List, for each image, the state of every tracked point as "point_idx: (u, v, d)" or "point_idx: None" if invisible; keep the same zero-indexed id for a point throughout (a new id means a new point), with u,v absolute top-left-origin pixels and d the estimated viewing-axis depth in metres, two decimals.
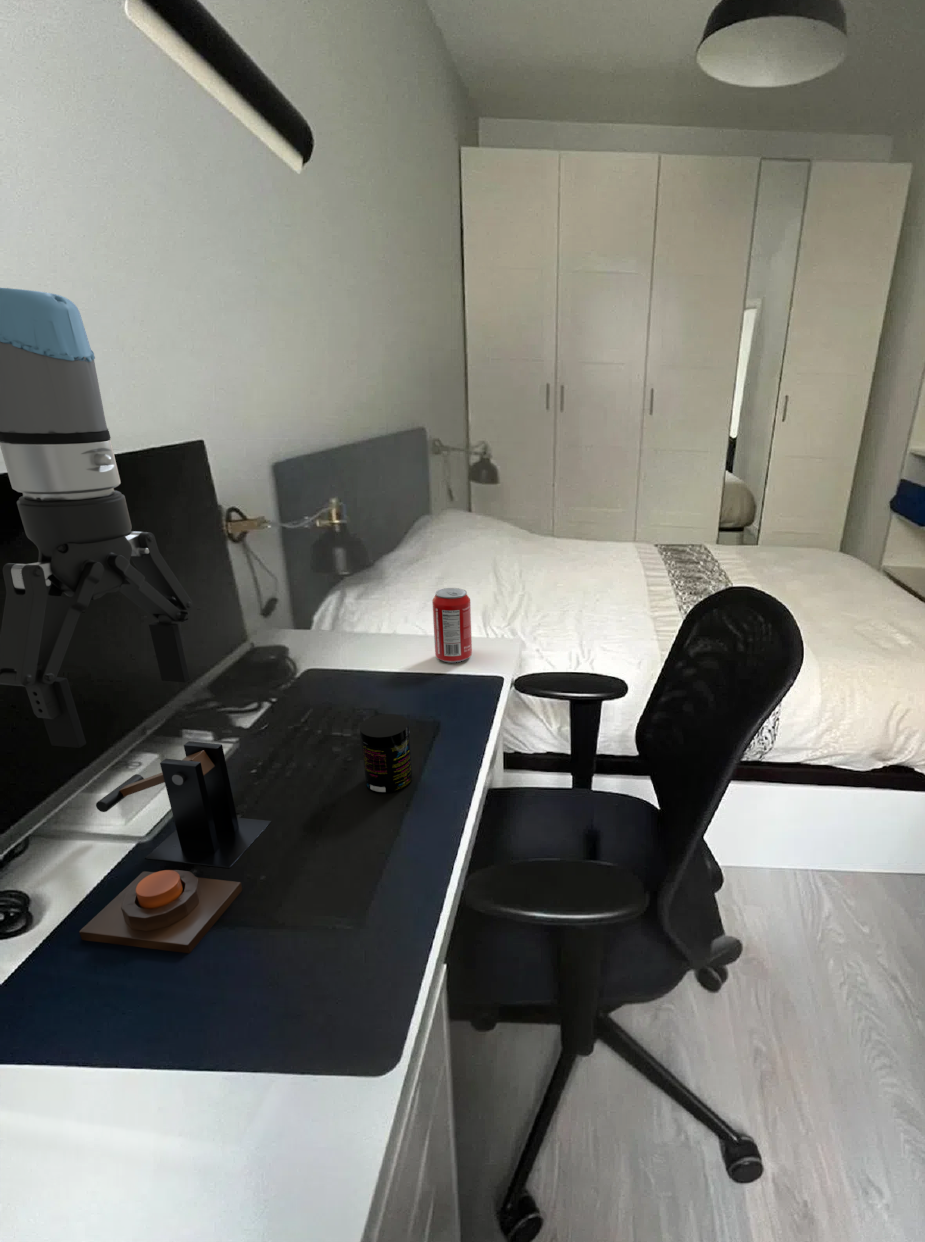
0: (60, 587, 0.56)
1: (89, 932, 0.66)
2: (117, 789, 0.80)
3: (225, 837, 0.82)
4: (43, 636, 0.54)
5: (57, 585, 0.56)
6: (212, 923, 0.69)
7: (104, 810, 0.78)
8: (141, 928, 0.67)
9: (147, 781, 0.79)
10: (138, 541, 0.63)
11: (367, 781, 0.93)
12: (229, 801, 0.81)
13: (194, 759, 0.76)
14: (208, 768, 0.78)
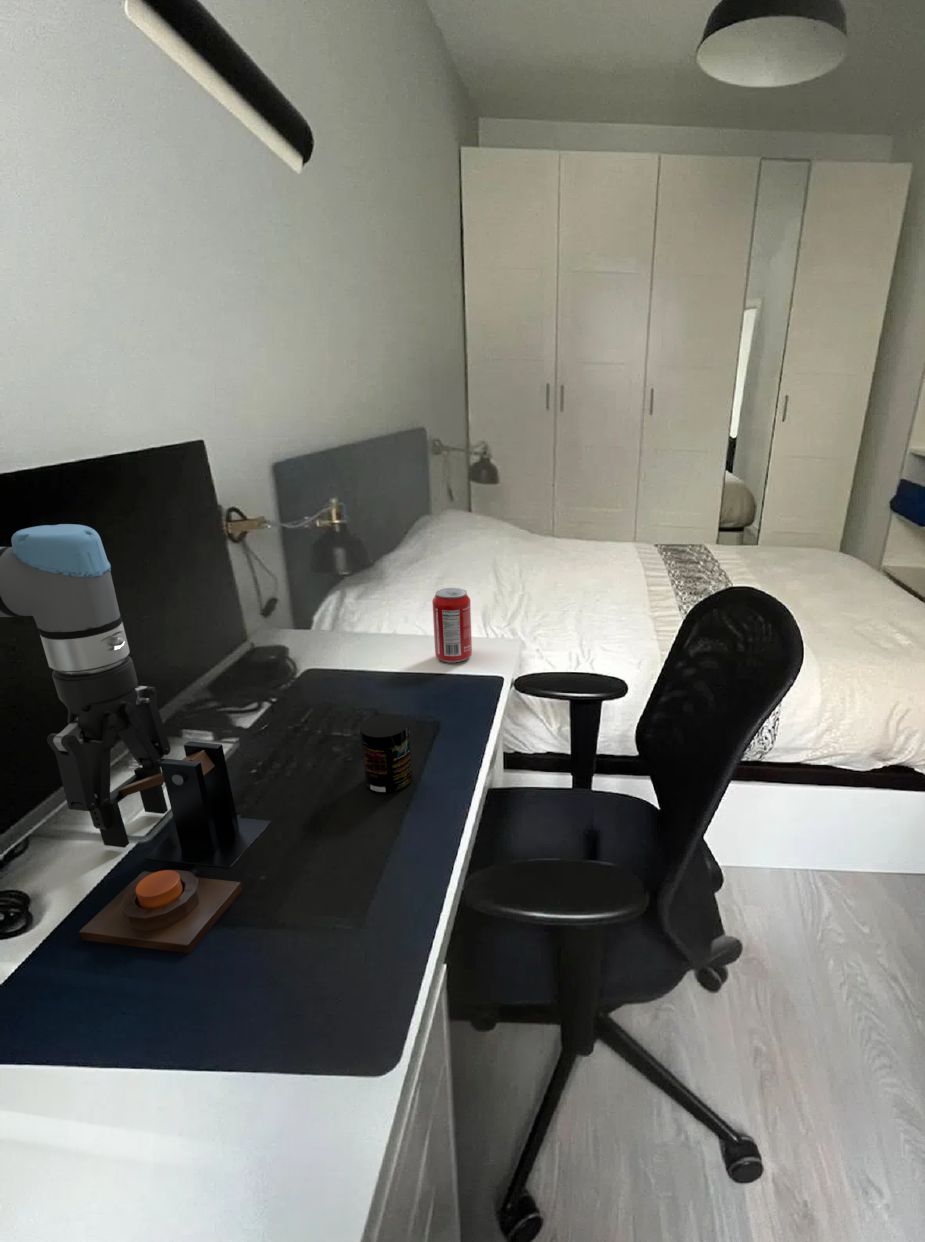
0: None
1: (89, 932, 0.66)
2: (117, 789, 0.80)
3: (225, 837, 0.82)
4: (91, 774, 0.75)
5: (81, 733, 0.74)
6: (212, 923, 0.69)
7: None
8: (141, 928, 0.67)
9: (147, 781, 0.79)
10: (143, 692, 0.81)
11: (367, 781, 0.93)
12: (229, 801, 0.81)
13: (194, 759, 0.76)
14: (208, 768, 0.78)
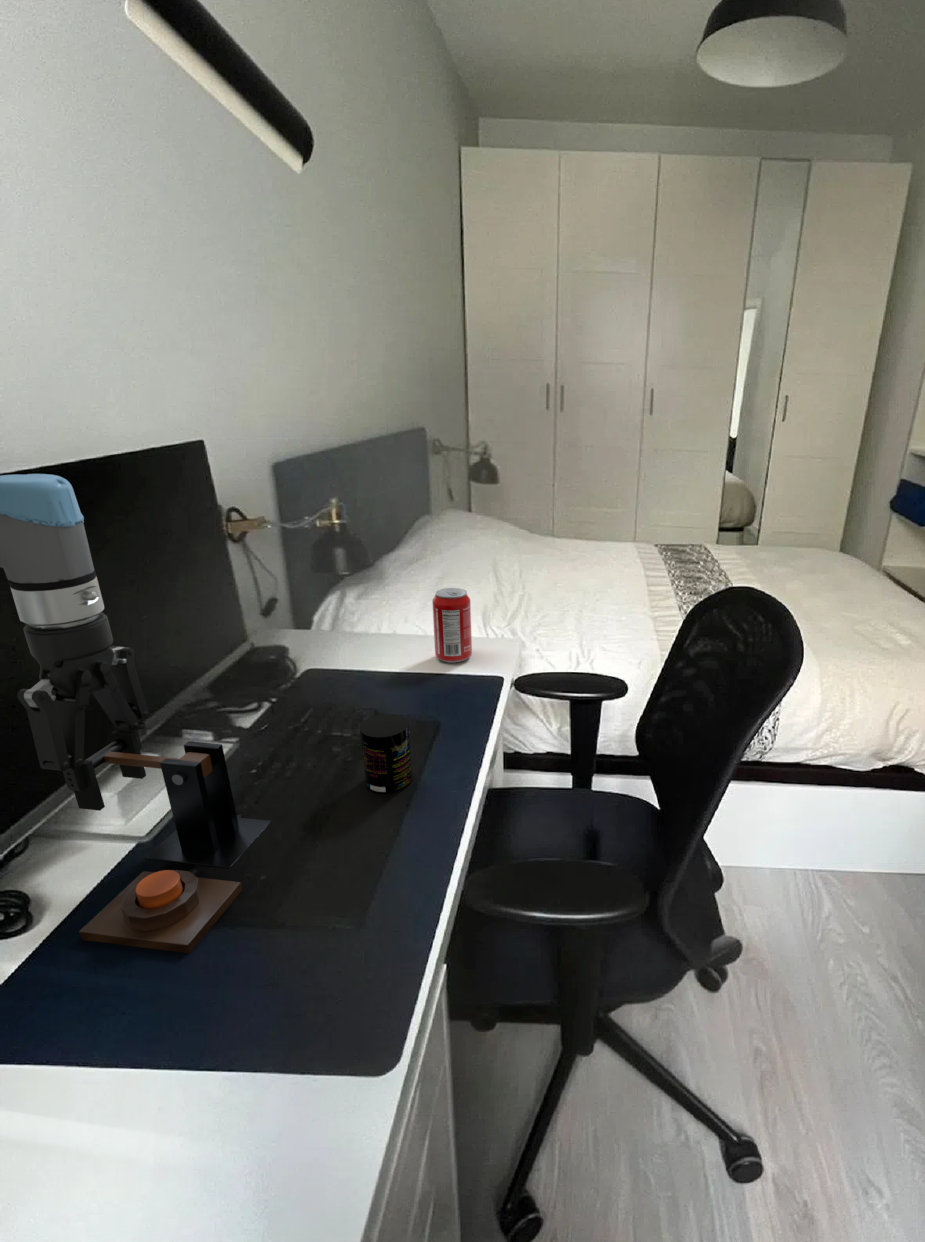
0: None
1: (89, 932, 0.66)
2: (101, 754, 0.78)
3: (225, 837, 0.82)
4: (64, 733, 0.73)
5: (54, 690, 0.72)
6: (212, 923, 0.69)
7: None
8: (141, 928, 0.67)
9: (138, 760, 0.78)
10: (120, 653, 0.79)
11: (367, 781, 0.93)
12: (229, 801, 0.81)
13: None
14: (207, 773, 0.78)
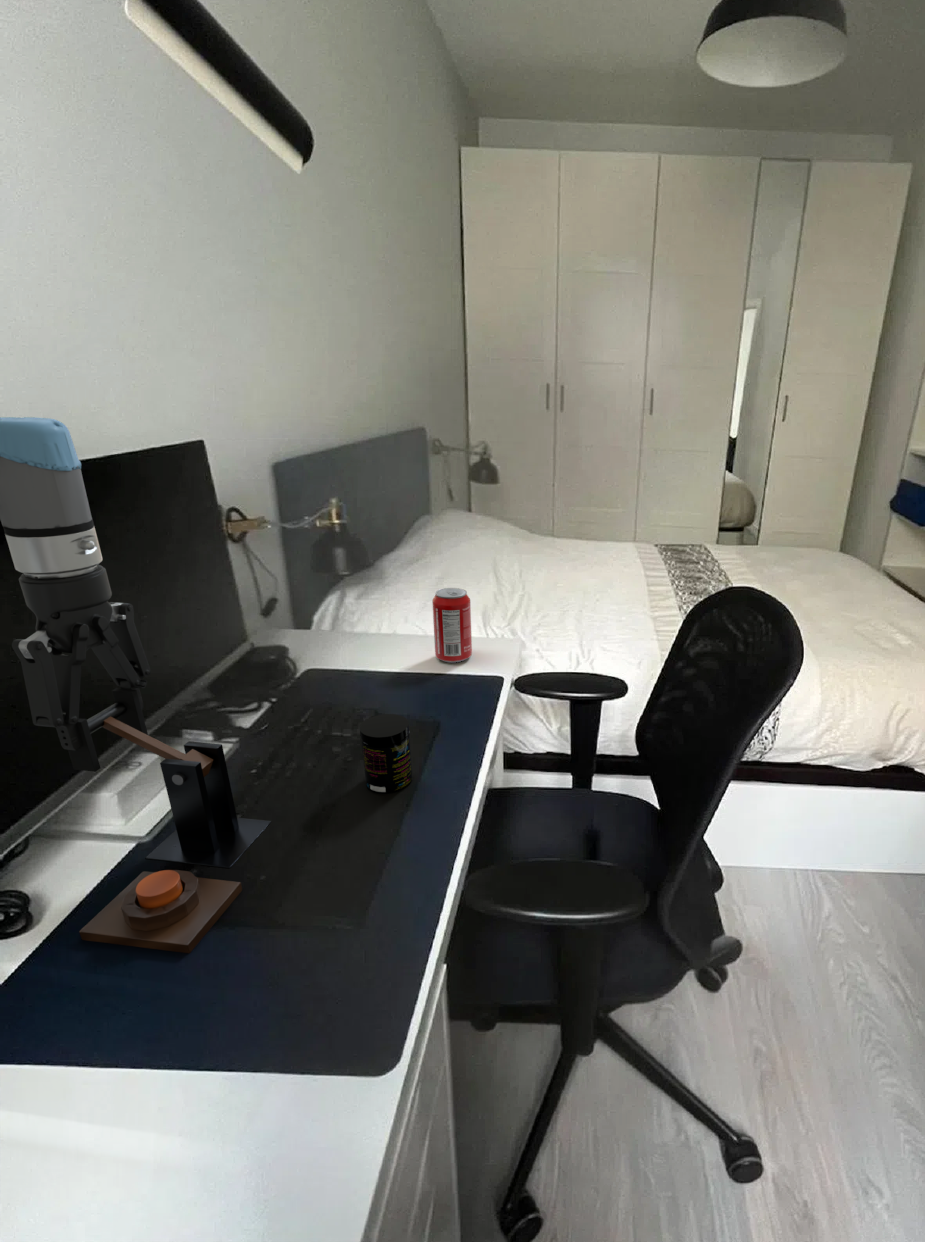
0: None
1: (89, 932, 0.66)
2: (102, 718, 0.76)
3: (225, 837, 0.82)
4: (59, 689, 0.71)
5: (51, 643, 0.70)
6: (212, 923, 0.69)
7: None
8: (141, 928, 0.67)
9: (139, 740, 0.76)
10: (119, 609, 0.77)
11: (367, 781, 0.93)
12: (229, 801, 0.81)
13: (203, 768, 0.77)
14: (204, 776, 0.78)
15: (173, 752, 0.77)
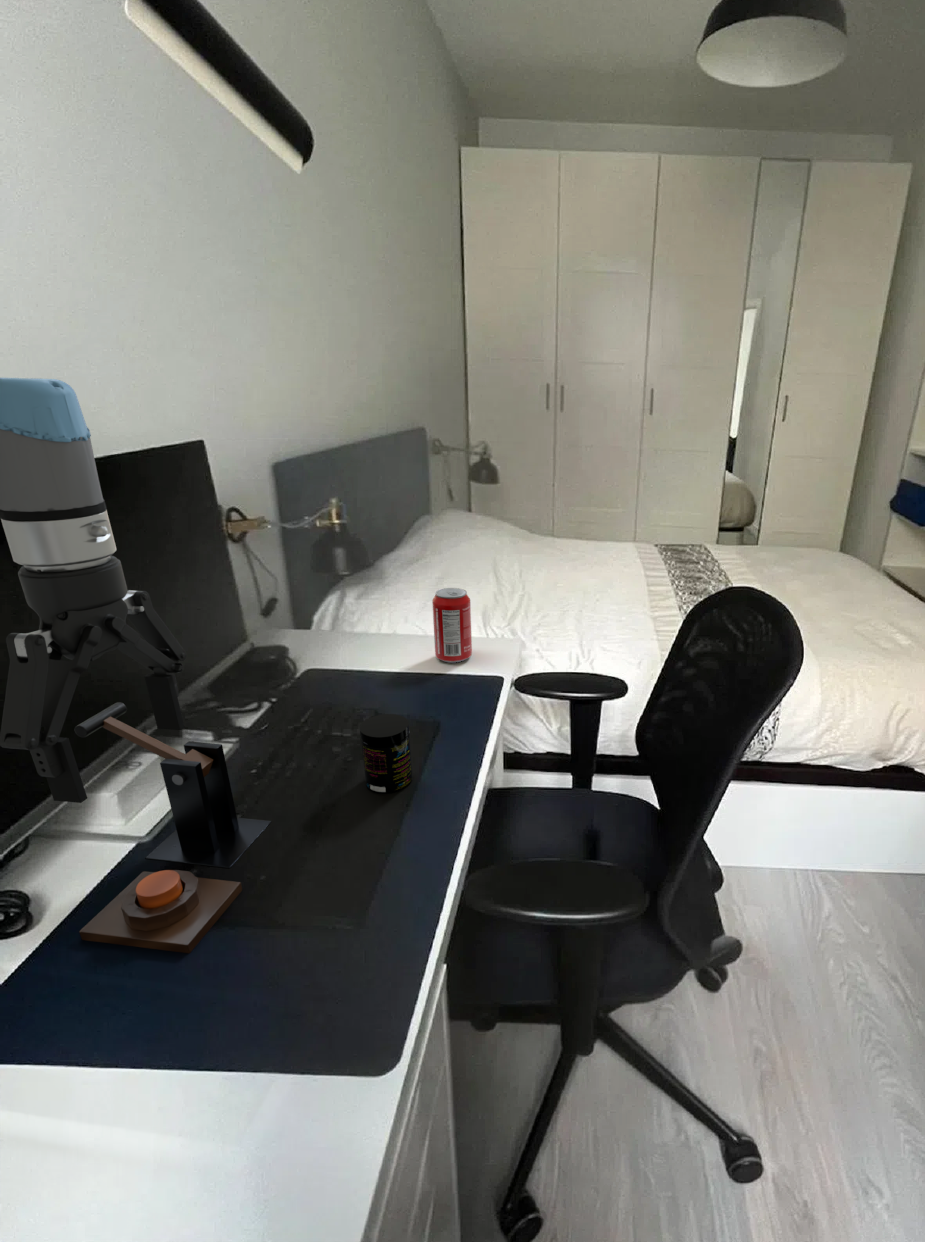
0: (60, 651, 0.59)
1: (89, 932, 0.66)
2: (102, 718, 0.76)
3: (225, 837, 0.82)
4: (45, 699, 0.57)
5: (57, 649, 0.59)
6: (212, 923, 0.69)
7: (79, 735, 0.74)
8: (141, 928, 0.67)
9: (139, 740, 0.76)
10: (133, 600, 0.66)
11: (367, 781, 0.93)
12: (229, 801, 0.81)
13: (203, 768, 0.77)
14: (204, 776, 0.78)
15: (173, 752, 0.77)
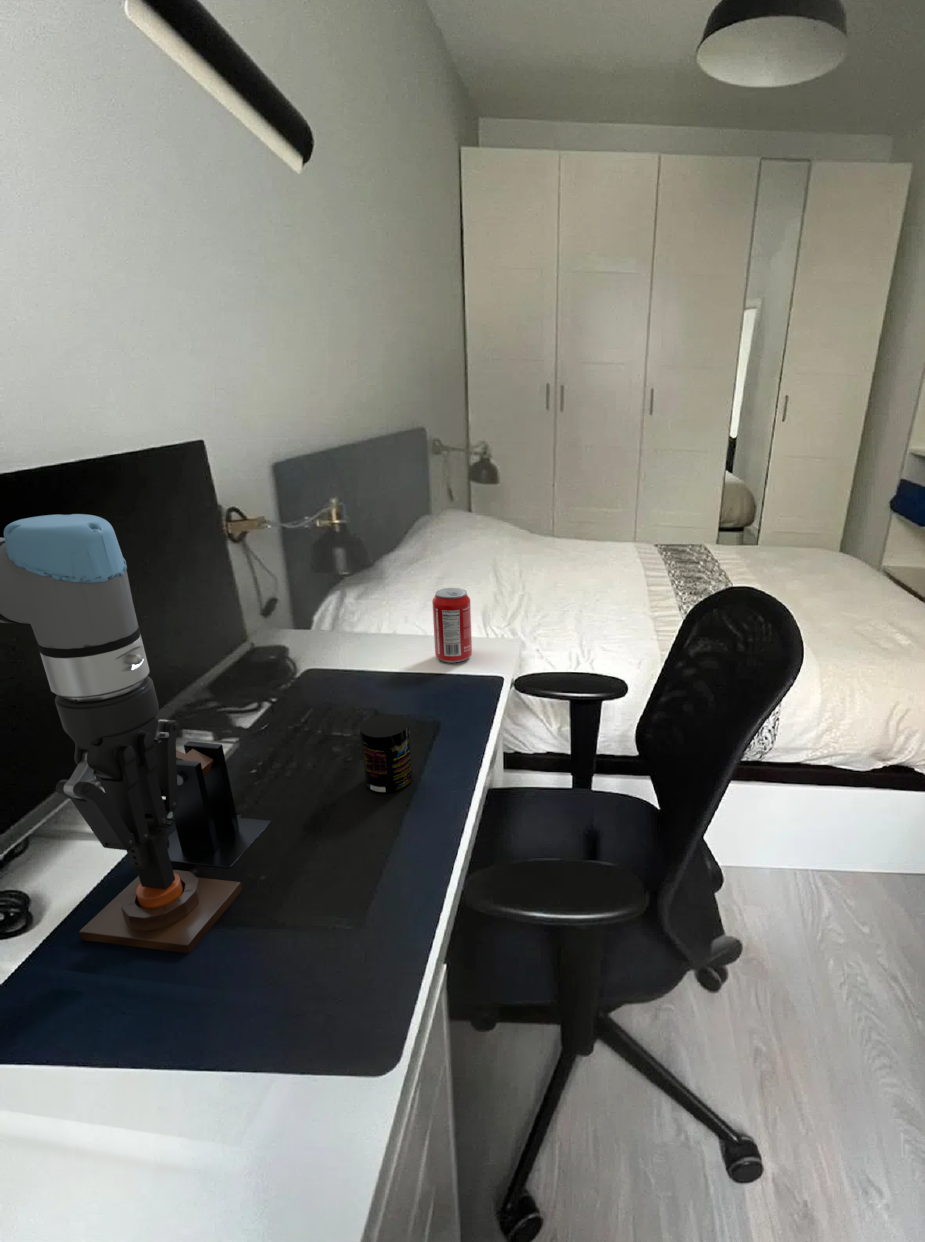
0: None
1: (89, 932, 0.66)
2: None
3: (225, 837, 0.82)
4: (120, 812, 0.63)
5: None
6: (212, 923, 0.69)
7: None
8: (141, 928, 0.67)
9: None
10: (163, 726, 0.67)
11: (367, 781, 0.93)
12: (229, 801, 0.81)
13: (203, 768, 0.77)
14: (204, 776, 0.78)
15: None
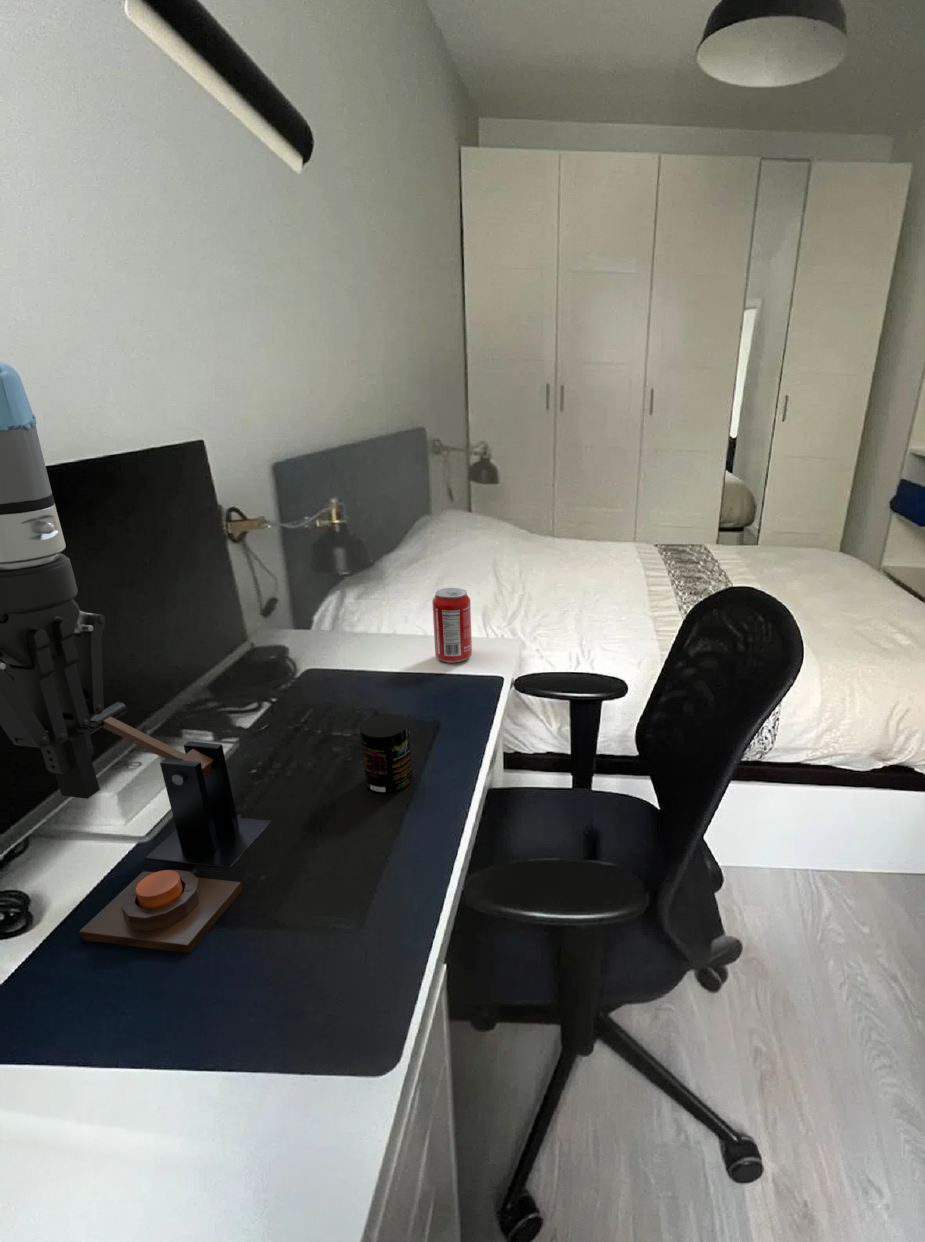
0: None
1: (89, 932, 0.66)
2: (102, 718, 0.76)
3: (225, 837, 0.82)
4: (33, 706, 0.57)
5: None
6: (212, 923, 0.69)
7: None
8: (141, 928, 0.67)
9: (139, 740, 0.76)
10: (87, 618, 0.61)
11: (367, 781, 0.93)
12: (229, 801, 0.81)
13: (203, 768, 0.77)
14: (204, 776, 0.78)
15: (173, 752, 0.77)
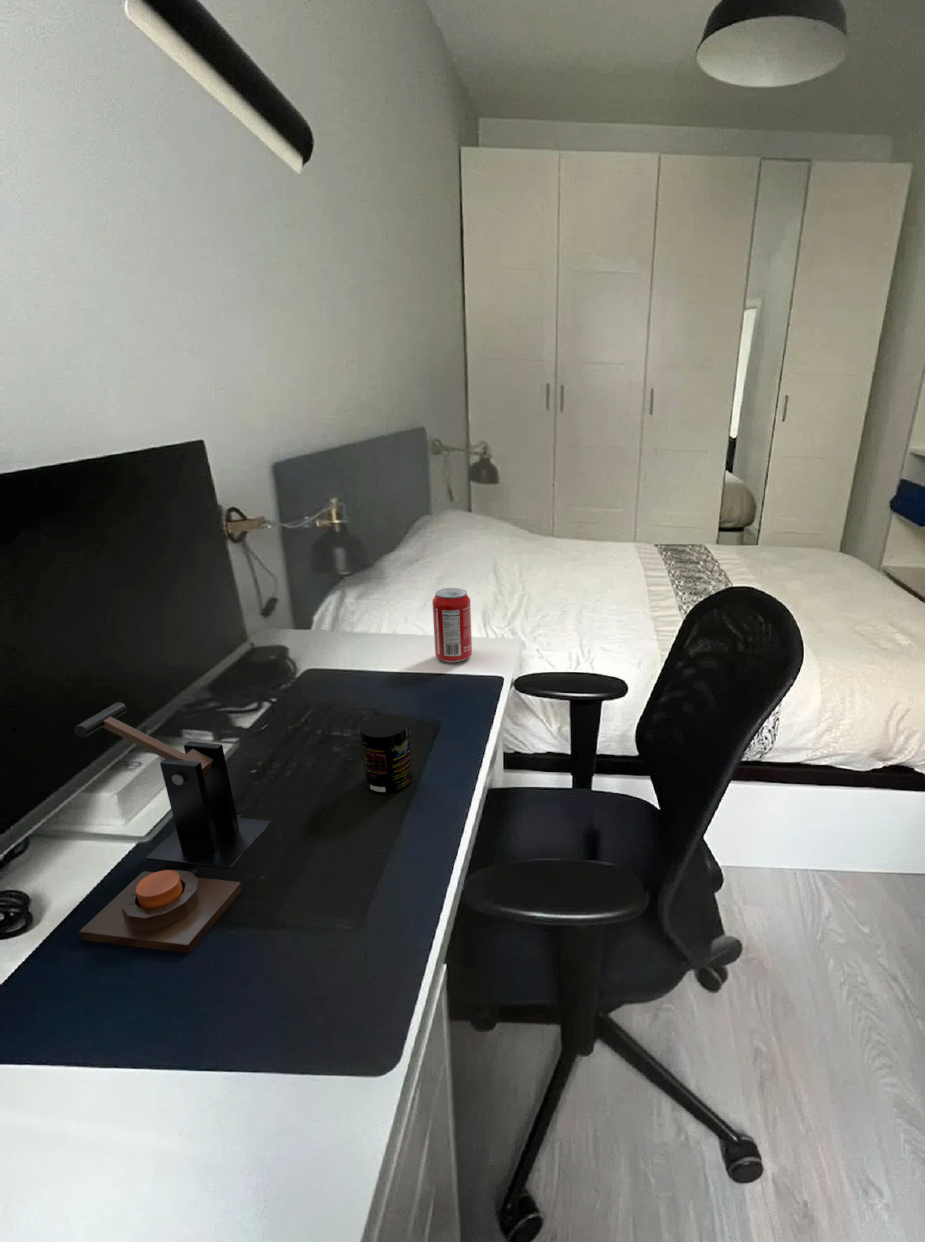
0: None
1: (89, 932, 0.66)
2: (102, 718, 0.76)
3: (225, 837, 0.82)
4: None
5: None
6: (212, 923, 0.69)
7: (79, 735, 0.74)
8: (141, 928, 0.67)
9: (139, 740, 0.76)
10: None
11: (367, 781, 0.93)
12: (229, 801, 0.81)
13: (203, 768, 0.77)
14: (204, 776, 0.78)
15: (173, 752, 0.77)
